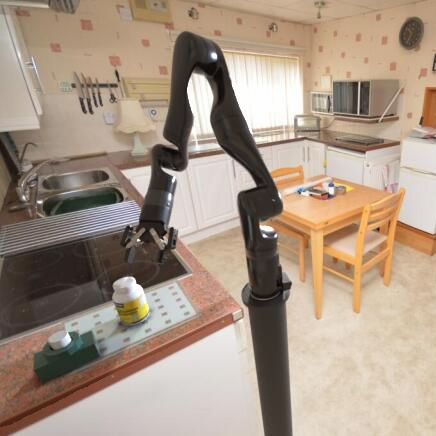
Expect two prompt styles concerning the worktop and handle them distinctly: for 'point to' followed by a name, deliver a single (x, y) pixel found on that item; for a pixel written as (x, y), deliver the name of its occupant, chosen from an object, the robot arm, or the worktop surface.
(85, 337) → the button base
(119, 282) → the pill bottle
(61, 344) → the white short cylinder
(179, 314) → the worktop surface
